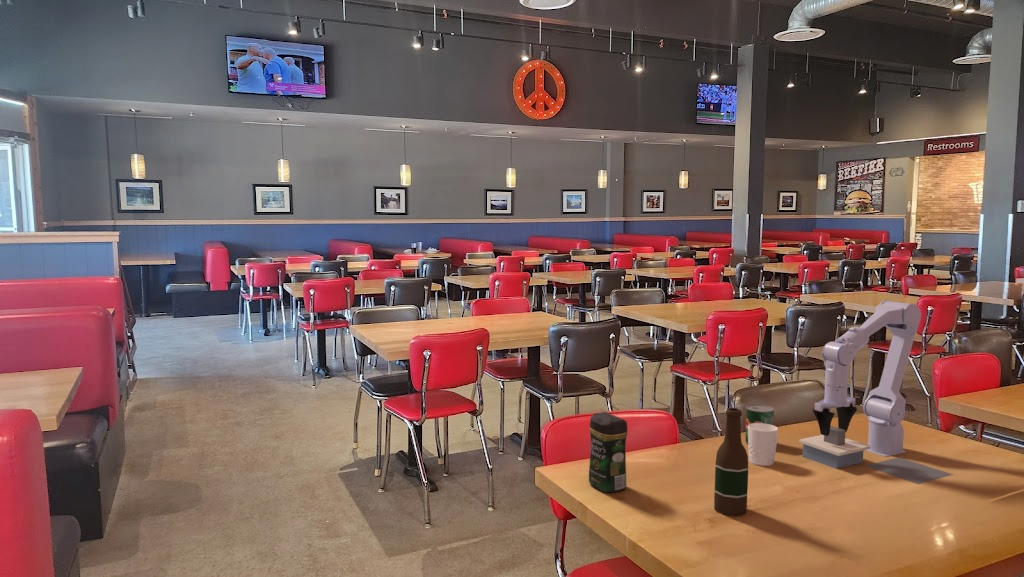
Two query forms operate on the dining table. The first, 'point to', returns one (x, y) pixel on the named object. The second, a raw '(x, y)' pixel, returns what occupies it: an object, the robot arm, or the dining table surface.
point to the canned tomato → (758, 416)
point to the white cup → (762, 443)
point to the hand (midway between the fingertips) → (833, 433)
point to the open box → (832, 457)
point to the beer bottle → (731, 469)
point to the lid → (835, 442)
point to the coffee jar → (607, 452)
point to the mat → (909, 470)
